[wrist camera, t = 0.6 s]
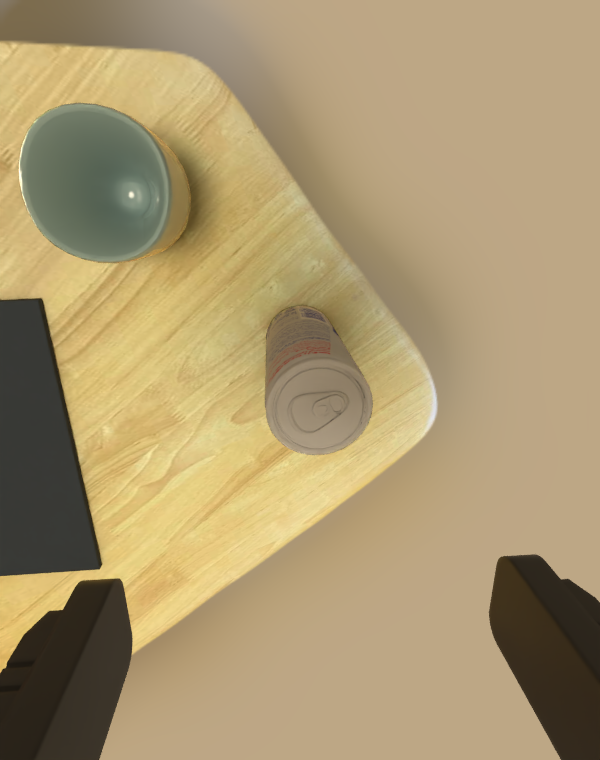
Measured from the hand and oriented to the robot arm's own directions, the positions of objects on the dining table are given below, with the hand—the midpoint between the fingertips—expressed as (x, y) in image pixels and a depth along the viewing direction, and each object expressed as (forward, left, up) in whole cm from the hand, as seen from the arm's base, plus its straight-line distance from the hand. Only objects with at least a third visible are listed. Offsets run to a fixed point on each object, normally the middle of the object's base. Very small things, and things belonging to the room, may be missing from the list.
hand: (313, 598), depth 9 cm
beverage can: (+1, +2, -28) cm, 28 cm away
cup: (-10, -9, -28) cm, 31 cm away
